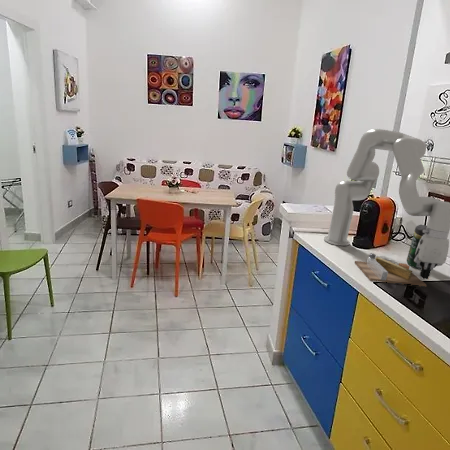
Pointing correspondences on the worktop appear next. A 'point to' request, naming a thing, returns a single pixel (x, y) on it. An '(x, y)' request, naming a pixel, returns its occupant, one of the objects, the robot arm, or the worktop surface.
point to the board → (388, 276)
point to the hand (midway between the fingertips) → (423, 277)
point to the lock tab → (404, 265)
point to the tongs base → (376, 267)
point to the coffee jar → (415, 246)
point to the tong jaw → (394, 268)
